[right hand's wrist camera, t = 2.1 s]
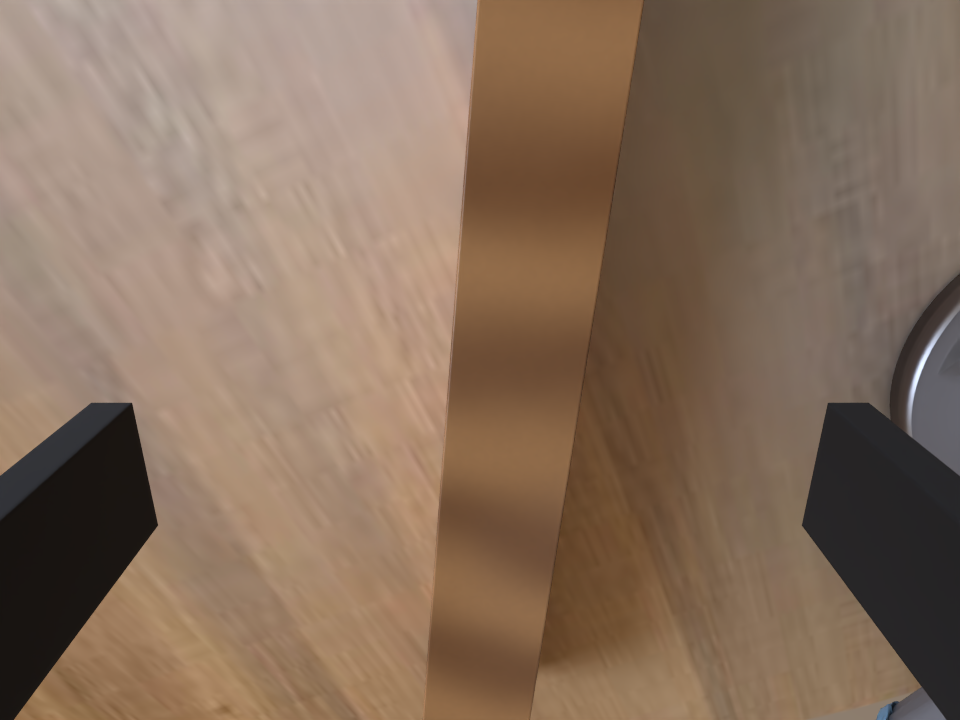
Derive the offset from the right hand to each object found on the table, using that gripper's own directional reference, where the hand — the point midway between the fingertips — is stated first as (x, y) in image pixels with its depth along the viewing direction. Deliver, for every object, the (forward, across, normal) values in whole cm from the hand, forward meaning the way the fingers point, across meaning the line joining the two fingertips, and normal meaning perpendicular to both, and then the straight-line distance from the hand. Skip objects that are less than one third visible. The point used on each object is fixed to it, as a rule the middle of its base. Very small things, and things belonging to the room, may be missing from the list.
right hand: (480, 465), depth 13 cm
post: (+19, -3, -12) cm, 23 cm away
